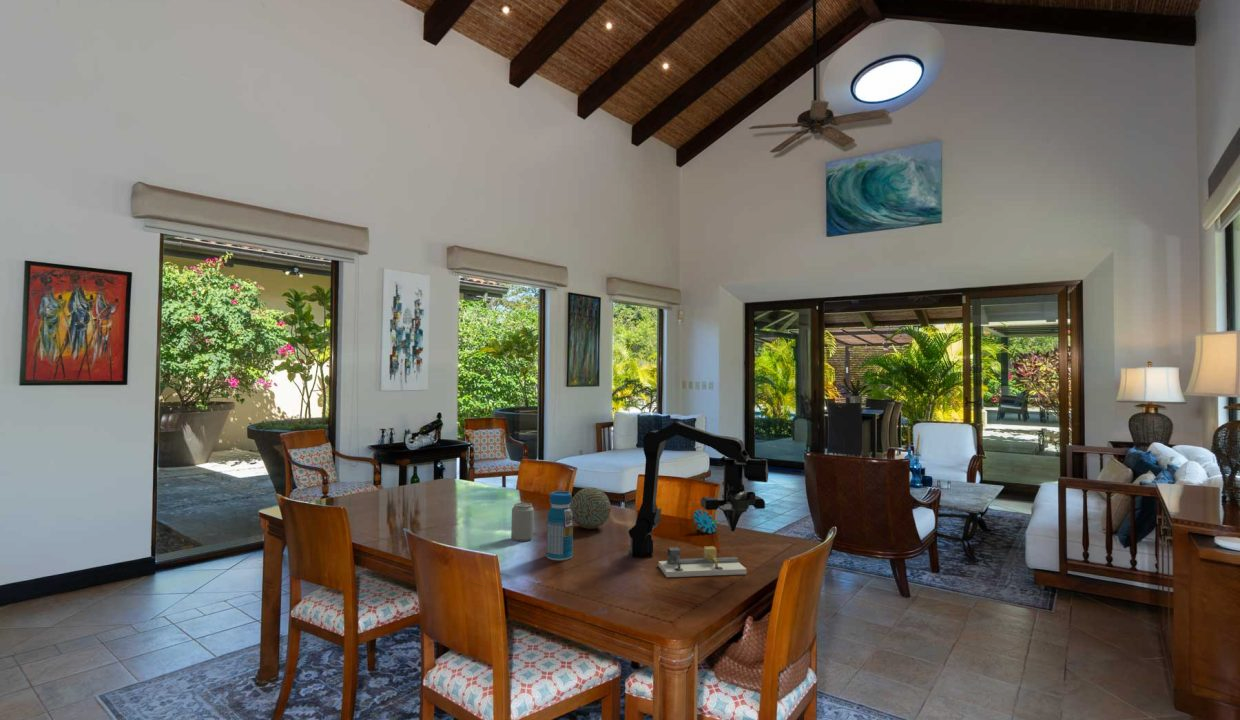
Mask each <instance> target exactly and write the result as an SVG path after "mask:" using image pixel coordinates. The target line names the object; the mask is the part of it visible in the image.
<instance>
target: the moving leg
mask: <svg viewBox="0 0 1240 720" xmlns="http://www.w3.org/2000/svg"><path fill="white" fill-rule="evenodd" d="M703 558H706V559H711V560H712V561H713V562H714V563H715V567H718V561H717V560H716V558H717V548H716V547H715V546H714V545H712V546H710V545H709V546H703Z"/></svg>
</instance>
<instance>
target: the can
mask: <svg viewBox="0 0 1240 720" xmlns="http://www.w3.org/2000/svg"><path fill="white" fill-rule="evenodd" d="M534 511H535V508H534V507H533V504H532V503H530V502H515V503H514V504H513V507H512V508H511V527H510V528H511V534H510V535H511V536H510V537H511V538H512V539H513V541H516V542H527V541H531V539H532V538H533V537H534V520H535V519H534V514H535V513H534Z"/></svg>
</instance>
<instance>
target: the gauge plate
mask: <svg viewBox="0 0 1240 720" xmlns="http://www.w3.org/2000/svg"><path fill="white" fill-rule="evenodd" d="M680 565H681V567H680V568H678V565H677V564H667V560H660V561H659V560H658V567H659V569H660V570H661V571H662V573H663V574H664V576H665V577H666V578H678V577H679V578H680V577H683V578H684V577H705V576H706V577H707V576H708V577H709V576H731V575H733V576H734V575H747V567H745V566H743V565H742V564H741V563H740V562H739V561H738V562H723V563H718V567H715V563H693V564H680Z"/></svg>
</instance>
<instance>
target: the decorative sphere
mask: <svg viewBox="0 0 1240 720" xmlns="http://www.w3.org/2000/svg"><path fill="white" fill-rule="evenodd" d="M610 501H611V500H610V498H609V496H608V495H607V494H606V493H605V492H604V491H603V490H601V489H599V488H597V487H594V486H593V487H592V486H591V487H590V486H589V487H584V488H582V489H580V490H578V491H577V492H576V493H575V494H574V496H572V497H571V504H570V505H569V506H570V507H571V509H572V511H573V518H572V520H573V522H575V524H577V525H578V526H580V528H583V529H587V530H593V529H597V528H599V527H601V526H603V525H604V524H605V523H606V522H607V521H608V519H609V517H610V514H611V502H610Z"/></svg>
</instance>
